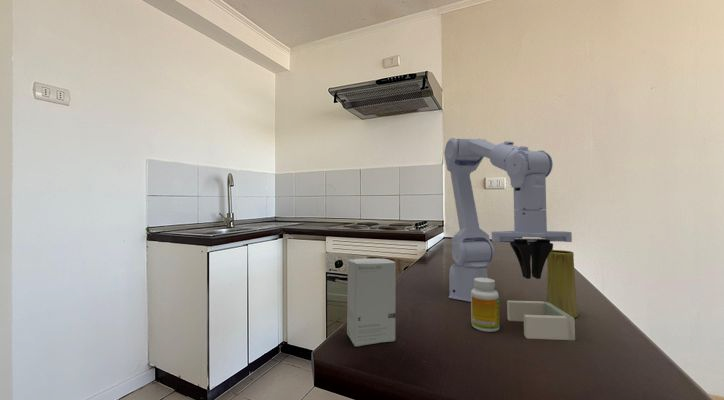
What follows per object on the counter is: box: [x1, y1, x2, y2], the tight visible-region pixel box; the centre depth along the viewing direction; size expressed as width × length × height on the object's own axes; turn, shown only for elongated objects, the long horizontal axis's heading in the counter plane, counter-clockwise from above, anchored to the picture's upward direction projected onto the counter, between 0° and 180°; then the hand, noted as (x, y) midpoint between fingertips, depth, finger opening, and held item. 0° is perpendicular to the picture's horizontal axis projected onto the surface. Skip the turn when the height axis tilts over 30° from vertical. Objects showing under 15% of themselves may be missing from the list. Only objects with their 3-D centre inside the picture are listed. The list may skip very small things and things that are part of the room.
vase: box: [546, 249, 579, 319], centre depth 69 cm, size 6×6×14 cm
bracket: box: [506, 300, 576, 341], centre depth 60 cm, size 8×10×4 cm
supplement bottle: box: [470, 277, 501, 333], centre depth 62 cm, size 5×5×10 cm
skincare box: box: [346, 257, 397, 348], centre depth 57 cm, size 8×6×15 cm
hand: (531, 277), depth 60 cm, fingers closed
